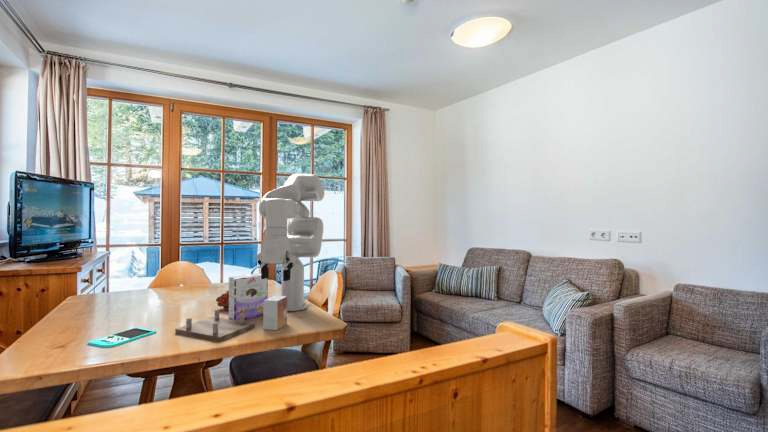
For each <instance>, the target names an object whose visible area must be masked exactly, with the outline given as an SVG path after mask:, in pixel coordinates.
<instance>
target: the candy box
mask: <svg viewBox="0 0 768 432" xmlns="http://www.w3.org/2000/svg"><path fill="white" fill-rule="evenodd" d="M268 278H269V277H268ZM268 278H266V279H261V272H259V273H253V274H252V273H251V274H244V275H242V274H241V275H236V276H234V275H233V276H229V277H228V291H229V309H228V319H231V320H237V321H240V314H241V313H244V314H245V316H244V320H247V319H251V318H256V317H260V316H261V317H262V316H263V305H264V300H266V299H268V294H269V292H268V291H269V289H268V284H269V282H268V280H269V279H268Z"/></svg>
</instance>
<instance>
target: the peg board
mask: <svg viewBox="0 0 768 432" xmlns="http://www.w3.org/2000/svg"><path fill="white" fill-rule="evenodd" d="M244 316H245V314H244V313H241V314H240V320H238V321H237V320H231V319H230V318H223V317H220V309H218V308H217V309H214V316H211V317H207V318H205V319H201V320H198V321H195V322H192V321H193V319H192V317H188V318H186V321H185V323H186V324H185V325H183V326H180V327H177V328H175V332H174V333H175V334H177V335H183V336H188V337H193V338H197V339H203V340H208V341H212V342H218V343H219V342H220V343H221V342H222V341H225V340H228V339H230V338H232V337H235V336H237V335H239V334H243V333H246V332H247V331H250V330H252V329H255V327H256V326H255V325H256V324H255V323H254V322H248V321H245V319H244Z"/></svg>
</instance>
